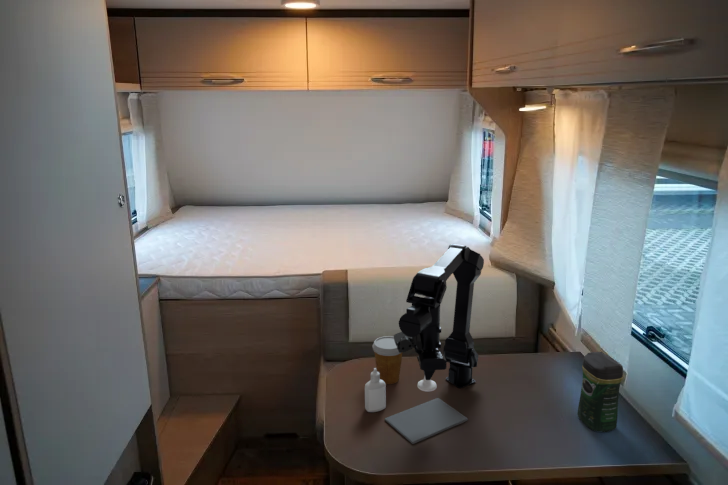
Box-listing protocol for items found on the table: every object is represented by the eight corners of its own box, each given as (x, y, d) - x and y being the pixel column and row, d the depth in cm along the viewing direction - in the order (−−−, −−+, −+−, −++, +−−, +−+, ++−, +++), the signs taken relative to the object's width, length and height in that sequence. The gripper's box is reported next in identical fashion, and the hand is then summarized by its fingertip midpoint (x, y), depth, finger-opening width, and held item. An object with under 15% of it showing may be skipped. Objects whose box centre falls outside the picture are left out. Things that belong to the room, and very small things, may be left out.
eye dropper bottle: (385, 413, 145) (385, 373, 142) (364, 412, 146) (363, 372, 143) (386, 404, 149) (386, 365, 146) (365, 403, 150) (365, 364, 147)
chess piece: (413, 387, 139) (413, 351, 137) (425, 379, 143) (425, 345, 140) (429, 393, 136) (429, 357, 133) (440, 386, 139) (441, 350, 137)
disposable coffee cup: (384, 368, 169) (383, 332, 166) (410, 376, 164) (410, 340, 160) (366, 381, 162) (365, 344, 158) (393, 390, 156) (393, 352, 153)
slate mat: (437, 399, 151) (438, 397, 151) (467, 420, 142) (467, 418, 141) (384, 420, 142) (384, 418, 142) (412, 444, 132) (412, 441, 132)
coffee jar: (622, 431, 136) (630, 365, 131) (593, 435, 135) (601, 368, 130) (599, 410, 145) (606, 347, 140) (572, 414, 144) (578, 350, 139)
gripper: (392, 308, 143) (392, 361, 147) (399, 339, 125) (399, 398, 129) (434, 306, 143) (433, 359, 148) (447, 337, 126) (445, 397, 130)
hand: (427, 377), depth 139 cm, fingers closed on chess piece
